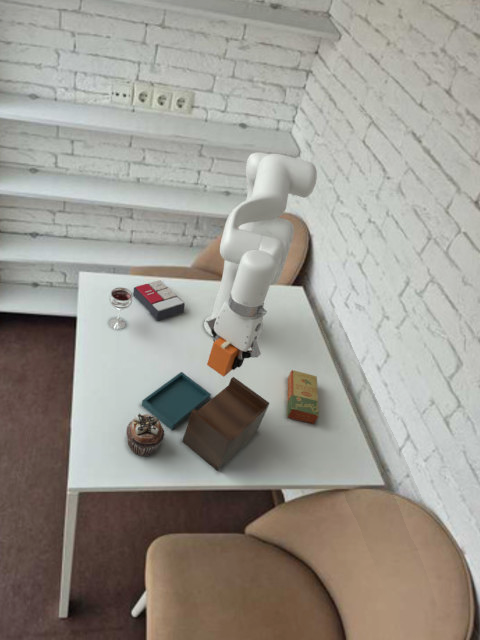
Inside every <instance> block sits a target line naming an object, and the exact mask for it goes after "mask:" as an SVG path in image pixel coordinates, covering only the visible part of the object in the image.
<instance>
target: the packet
mask: <svg viewBox="0 0 480 640" xmlns="http://www.w3.org/2000/svg"><path fill="white" fill-rule="evenodd" d="M237 356H238V348H236V347H235V346H233V345H232V344H230V342H229V341H226V340H225V339H223V338H222V337H220V338H219V339H217V340H216V341H215V342H214V341H213V344H212V346H211V349H210V353H209V356H208V360H207V363H206V365H207V366H208V367H209V368H211V369H212V370H213V371H215V372H216V373H217V374H219V375H220V376H222V377H223V378H225V377H226V376H227V375H228V374H229V373H231V372H232V371H233V370H232V365H233V362H234V360H235V358H236V357H237Z"/></svg>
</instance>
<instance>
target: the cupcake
mask: <svg viewBox="0 0 480 640" xmlns="http://www.w3.org/2000/svg"><path fill="white" fill-rule="evenodd" d="M127 424H128V425H127V426H126V432H125V433H126V438H127V444H128V447H129V449H130V451H131V452H132V454H134V455H137V456H139V457H149V456H150V457H151V456H152V455H153V454H155V453H156V451H157V450H158V449H159V447H160V445H161V444H162V443H163V440H164V439H165V430H164V427H163V425H162V422H161V421H160V420H159V419H157V418H156V417H155V416H154V415H153V414H150V413H146V414H141V413H135V415H134V417H133V419H132V420H131V421H130V422H129V423H127Z"/></svg>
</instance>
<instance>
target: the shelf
mask: <svg viewBox="0 0 480 640" xmlns="http://www.w3.org/2000/svg"><path fill="white" fill-rule="evenodd" d="M269 406H270V402H269V401H268V400H266V399H265V398H264V397H262V396H261V395H259V394H258V393H257V392H255V391H254V390H253V389H252V388H250V387H248V386H247V385H246V384H244V383H243V382H241V381H240V380H239V379H237V378H236V377H235V376H232V377H231V378H230V381H229V383H228V385H227V386H225V387H224V388H223V389H222V390H221V391H220V392H218V393H217V394H215V396H214V397H212V398H210V399H209V401H207V402H206V403H204V404H203V405H202V406H201V407H200V408H198V409H197V410H195V409H194V410H192V411H191V415H189V419H188V422H187V424H186V428H185V430H184V431H185V432H184V434H183V438H182V441H181V442H182V443H183V444H184V445H185V446H186V447H188V448H189V449H190V450H191V451H193V452H194V453H195V454H196V455H198V456H199V458H201V459H202V460H203V461H205V462H206V463H207V464H208V465H210V466H211V467H212V468H213V469H215V470H216V471H217V472H218V471H219V470H221V469H222V467H223V466H224V465H226V464H227V463H228V461H230V460H231V459H232V458H233V457H234V456H235V455H236V454H237V452H239V451H240V450H241V449H242V448H243V447H244V446H245V445H246V444H247V443H248V442H249V441H250V440H251V439H252V438H253V437H254V436H255V435H256V434H257V433H258V431H259V428H260V426H261V425H262V421H263V419H264V417H265V414H266V413H267V410H268V408H269Z"/></svg>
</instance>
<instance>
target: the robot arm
mask: <svg viewBox="0 0 480 640" xmlns="http://www.w3.org/2000/svg"><path fill="white" fill-rule="evenodd" d="M245 176H246V186H247V192H246V193H247V194H246V198H245V200H244V201H243V202H241V203H239V204H238V205H237V206H236V207H234V208H233V210H232V211H230V213H229V215H228V217H227V218H226V221H225V224H224V227H223V231H222V235H221V240H220V246H219V254H220V257H221V258H222V259H223V260H224V263H223V271H222V276H221V280H220V285H219V288H218V291H217V294H216V297H215V302H214V304H213V309H212V310H211V311H212V312H211V314H210V315H208V316H206V317H205V319H204V323H203V327H204V330H205V332H206V333H208V335H209V336H211V337H212V338H213V339H212V341H213V343H214V342H215V341H216V340H217V339H219V338H220V337H222V338H223V339H225V340H226V341H229V342H230V344H232V345H233V346H235V347H236V348H238V356H237V357H236V358H235V360H234V362H233V365H232V370H231V371H235V370H236V369H237V368H241V367H242V366H243V364H244V361H245V359H250V358H258V357H259V356H261V354H262V353H261V350H260V347H259V345H258V341H259V339H260V336H261V331H262V328H263V321H264V316H265V315H266V314H267V312H268V311H267V310H266V309H265V308H264V306H265V300H266V297H267V296H268V295H267V294H268V291H269V289H270V287H271V286H274V285H275V286H276V284H277V283H278V282H279V281H280V278H281V276H282V273H283V271H284V267H285V265H286V261H287V258H288V255H289V252H290V249H291V246H292V243H293V239H294V234H295V227H294V224H293V223H292V221H290V220H288V219H286V218H282V217H281V216H282V215H283V214H284V213H285V211H286V209H287V204H288V200H289V199H288V198H289V195H293V196H297V197H299V198H303V199H304V198H308V197H309V196H310V195H311V194H312V193H313V191H314V189H315V186H316V183H317V179H318V170H317V167H316V165H315V164H314V163H313V162H310V161H307V160H304V159H300V158H296V157H292V156H289V155H285V154H281V153H266V152H261V151H259V152H253V153H251V154H250V155H249V156H248V158H247V159H246V164H245Z"/></svg>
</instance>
